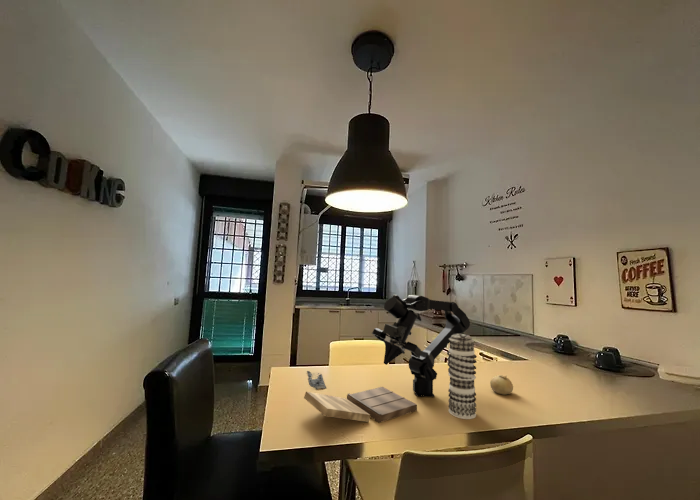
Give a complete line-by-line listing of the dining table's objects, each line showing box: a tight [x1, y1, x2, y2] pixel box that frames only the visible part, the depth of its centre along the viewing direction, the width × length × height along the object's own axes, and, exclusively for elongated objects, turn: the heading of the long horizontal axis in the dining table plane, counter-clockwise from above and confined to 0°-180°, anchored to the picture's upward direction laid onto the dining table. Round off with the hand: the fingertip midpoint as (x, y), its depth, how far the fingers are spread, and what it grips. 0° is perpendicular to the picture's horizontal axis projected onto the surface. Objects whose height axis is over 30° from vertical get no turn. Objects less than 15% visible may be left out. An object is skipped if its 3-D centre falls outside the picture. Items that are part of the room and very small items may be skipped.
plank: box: [303, 391, 371, 423], centre depth 93 cm, size 2×14×16 cm
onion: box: [490, 374, 514, 396], centre depth 116 cm, size 8×8×7 cm
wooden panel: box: [346, 386, 418, 424], centre depth 102 cm, size 16×18×2 cm
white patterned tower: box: [446, 333, 477, 420], centre depth 99 cm, size 9×9×25 cm
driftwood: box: [306, 370, 327, 390], centre depth 125 cm, size 21×7×2 cm, turn 11°
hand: (384, 363), depth 105 cm, fingers closed
